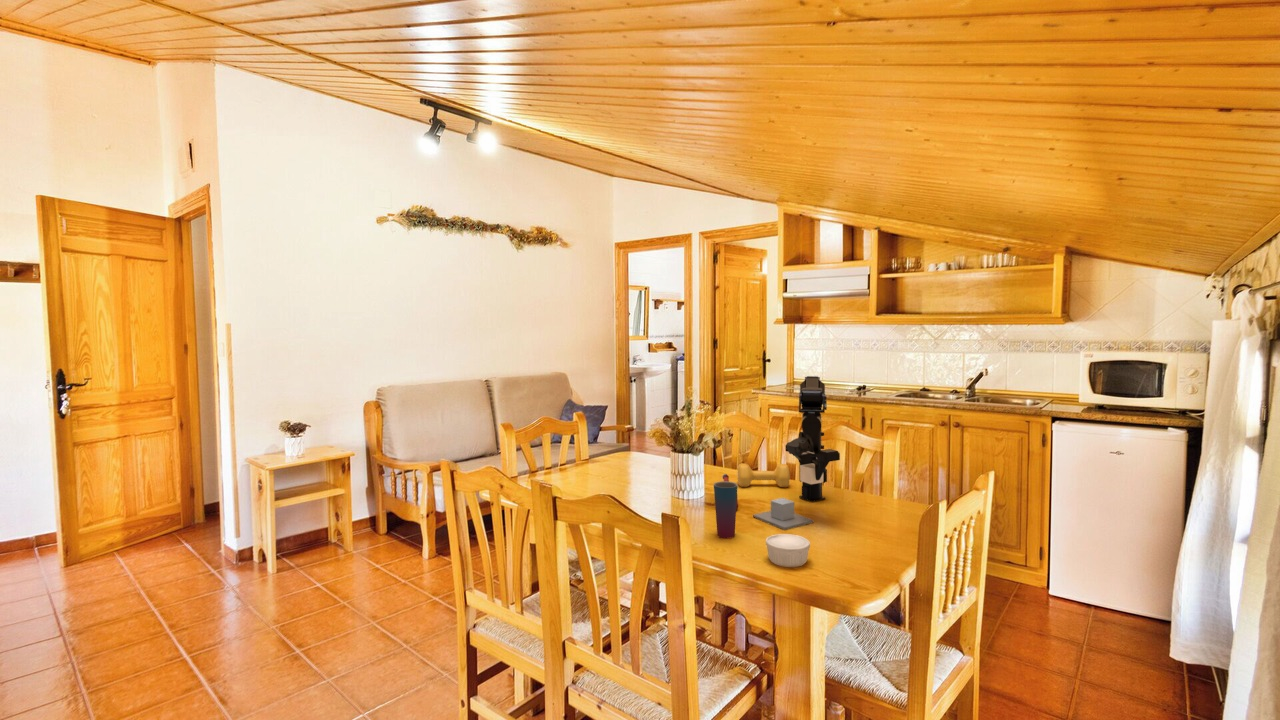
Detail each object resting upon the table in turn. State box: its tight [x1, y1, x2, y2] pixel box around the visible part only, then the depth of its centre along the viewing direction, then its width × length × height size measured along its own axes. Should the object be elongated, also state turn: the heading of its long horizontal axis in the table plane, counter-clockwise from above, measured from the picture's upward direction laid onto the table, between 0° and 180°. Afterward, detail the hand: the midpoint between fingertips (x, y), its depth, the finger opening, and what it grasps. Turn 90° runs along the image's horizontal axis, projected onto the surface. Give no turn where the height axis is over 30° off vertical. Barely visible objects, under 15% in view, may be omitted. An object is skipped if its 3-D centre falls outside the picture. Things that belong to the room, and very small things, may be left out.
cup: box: [713, 480, 739, 539], centre depth 176 cm, size 7×7×15 cm
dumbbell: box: [736, 463, 791, 488], centre depth 228 cm, size 19×9×8 cm, turn 84°
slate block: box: [770, 497, 795, 521], centre depth 189 cm, size 5×5×5 cm
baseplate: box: [752, 510, 815, 531], centre depth 189 cm, size 12×14×1 cm
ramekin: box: [765, 533, 811, 568], centre depth 158 cm, size 11×11×5 cm
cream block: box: [799, 463, 823, 484], centre depth 192 cm, size 5×5×5 cm
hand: (811, 478), depth 192 cm, fingers closed on cream block, 5 cm apart
